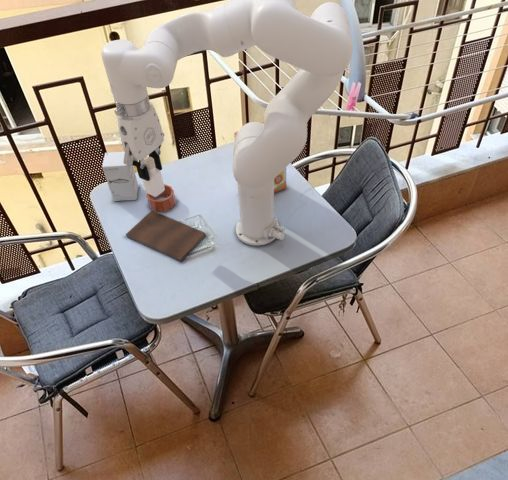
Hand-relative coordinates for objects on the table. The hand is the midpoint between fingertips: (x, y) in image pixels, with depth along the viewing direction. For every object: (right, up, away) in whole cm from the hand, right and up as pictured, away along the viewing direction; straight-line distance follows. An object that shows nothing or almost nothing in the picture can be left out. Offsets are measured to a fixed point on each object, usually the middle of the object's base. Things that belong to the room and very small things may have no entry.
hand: (150, 173), depth 119 cm
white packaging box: (-14, +3, +27) cm, 31 cm away
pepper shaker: (0, -3, +5) cm, 6 cm away
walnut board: (+1, -13, +15) cm, 20 cm away
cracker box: (+29, +3, +25) cm, 39 cm away
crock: (-2, -1, +24) cm, 24 cm away
